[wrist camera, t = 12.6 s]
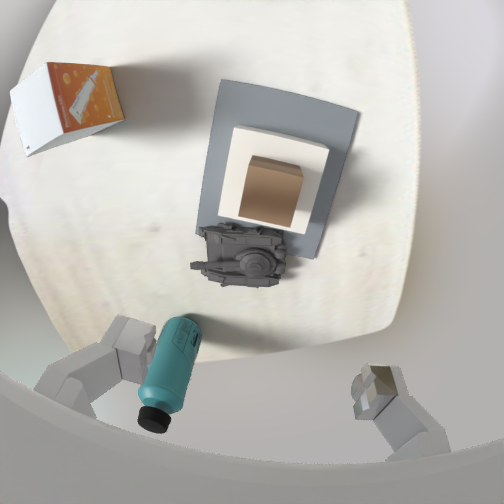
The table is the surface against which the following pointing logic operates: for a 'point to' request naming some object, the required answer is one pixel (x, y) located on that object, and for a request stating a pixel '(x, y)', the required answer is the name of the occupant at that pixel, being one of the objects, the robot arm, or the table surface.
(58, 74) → the small box
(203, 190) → the plain slate board
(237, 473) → the robot arm
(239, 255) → the tank toy
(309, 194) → the white plinth
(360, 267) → the table surface
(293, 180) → the walnut block
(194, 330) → the beverage bottle
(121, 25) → the table surface
